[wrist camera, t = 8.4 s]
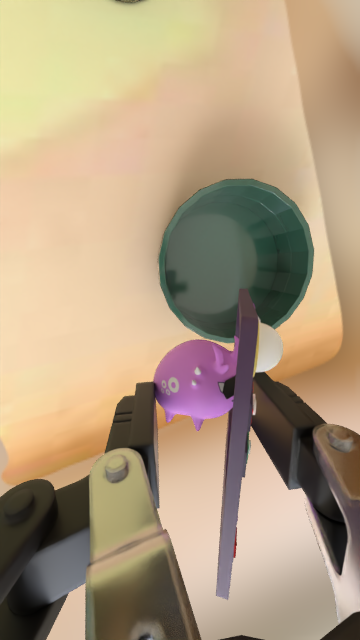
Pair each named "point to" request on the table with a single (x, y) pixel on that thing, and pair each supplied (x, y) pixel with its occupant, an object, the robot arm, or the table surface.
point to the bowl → (235, 257)
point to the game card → (221, 404)
